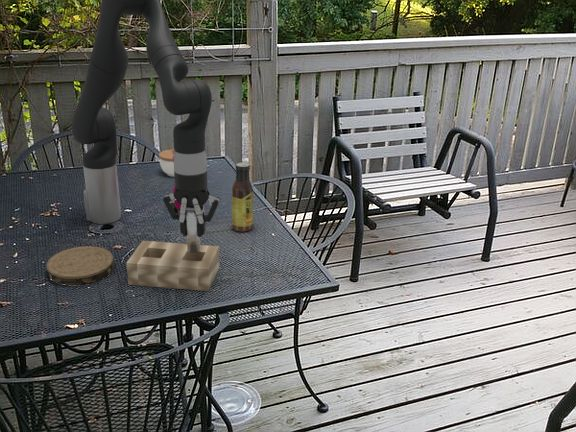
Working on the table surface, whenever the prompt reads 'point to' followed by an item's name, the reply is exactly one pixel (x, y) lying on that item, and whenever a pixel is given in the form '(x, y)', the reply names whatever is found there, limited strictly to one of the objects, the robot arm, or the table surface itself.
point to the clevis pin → (192, 230)
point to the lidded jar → (167, 162)
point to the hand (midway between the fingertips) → (193, 234)
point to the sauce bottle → (242, 199)
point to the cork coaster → (80, 265)
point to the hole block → (173, 266)
